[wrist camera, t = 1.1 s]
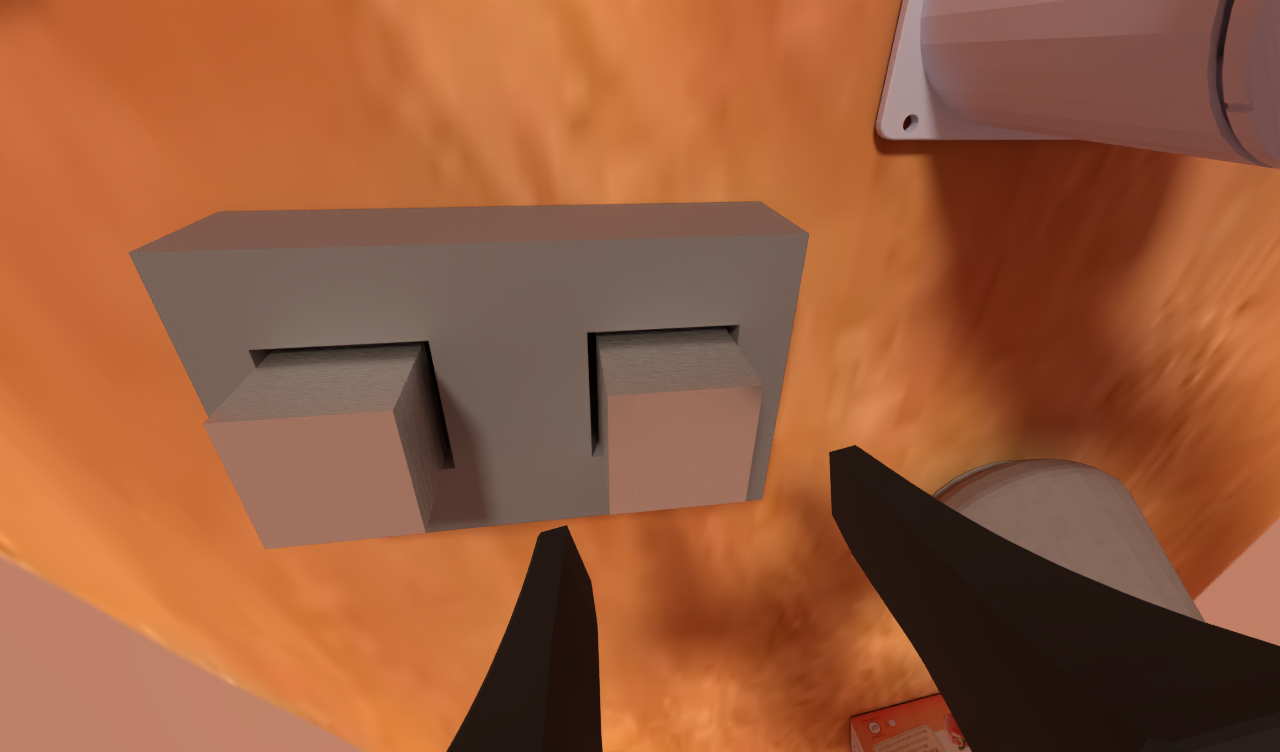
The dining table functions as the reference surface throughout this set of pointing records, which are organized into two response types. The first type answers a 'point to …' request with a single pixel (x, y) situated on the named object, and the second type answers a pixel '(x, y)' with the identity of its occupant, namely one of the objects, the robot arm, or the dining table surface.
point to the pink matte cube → (675, 418)
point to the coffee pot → (1072, 524)
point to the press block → (485, 319)
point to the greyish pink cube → (334, 443)
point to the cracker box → (908, 729)
